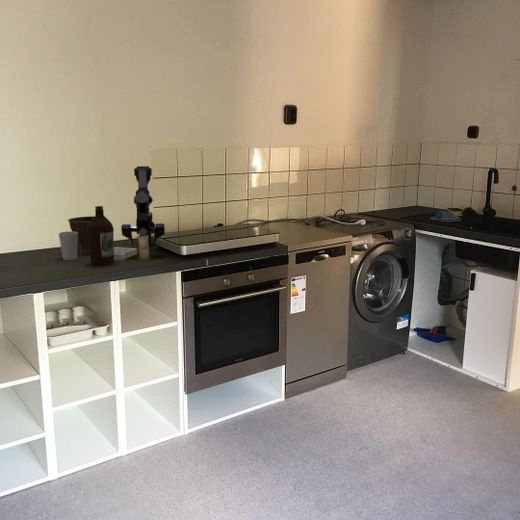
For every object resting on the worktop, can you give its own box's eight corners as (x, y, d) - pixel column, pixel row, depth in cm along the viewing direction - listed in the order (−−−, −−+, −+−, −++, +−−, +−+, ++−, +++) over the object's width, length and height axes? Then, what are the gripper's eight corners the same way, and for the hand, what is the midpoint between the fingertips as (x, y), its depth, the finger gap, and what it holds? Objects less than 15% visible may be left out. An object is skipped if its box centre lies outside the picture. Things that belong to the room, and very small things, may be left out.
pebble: (117, 257, 261) (116, 250, 260) (123, 257, 260) (122, 251, 259) (113, 258, 258) (113, 252, 257) (119, 259, 257) (119, 252, 256)
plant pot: (64, 256, 266) (61, 221, 262) (79, 249, 281) (76, 215, 278) (98, 257, 264) (96, 221, 260) (111, 249, 280) (109, 216, 276)
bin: (113, 253, 271) (113, 247, 271) (137, 254, 268) (137, 248, 268) (97, 259, 258) (97, 253, 258) (122, 261, 255) (122, 254, 254)
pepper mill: (142, 258, 260) (140, 227, 257) (151, 259, 259) (149, 227, 256) (137, 260, 256) (135, 229, 253) (146, 261, 255) (145, 229, 252)
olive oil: (84, 265, 248) (80, 206, 242) (104, 260, 256) (100, 204, 251) (100, 268, 242) (97, 208, 236) (120, 264, 250) (117, 206, 245)
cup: (82, 257, 262) (80, 231, 259) (75, 261, 254) (73, 234, 252) (65, 257, 263) (63, 231, 260) (57, 261, 255) (55, 234, 252)
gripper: (120, 206, 255) (120, 235, 247) (163, 205, 258) (164, 234, 250) (122, 221, 264) (122, 250, 256) (164, 220, 267) (165, 248, 259)
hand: (143, 245), depth 255 cm, fingers open, 9 cm apart
